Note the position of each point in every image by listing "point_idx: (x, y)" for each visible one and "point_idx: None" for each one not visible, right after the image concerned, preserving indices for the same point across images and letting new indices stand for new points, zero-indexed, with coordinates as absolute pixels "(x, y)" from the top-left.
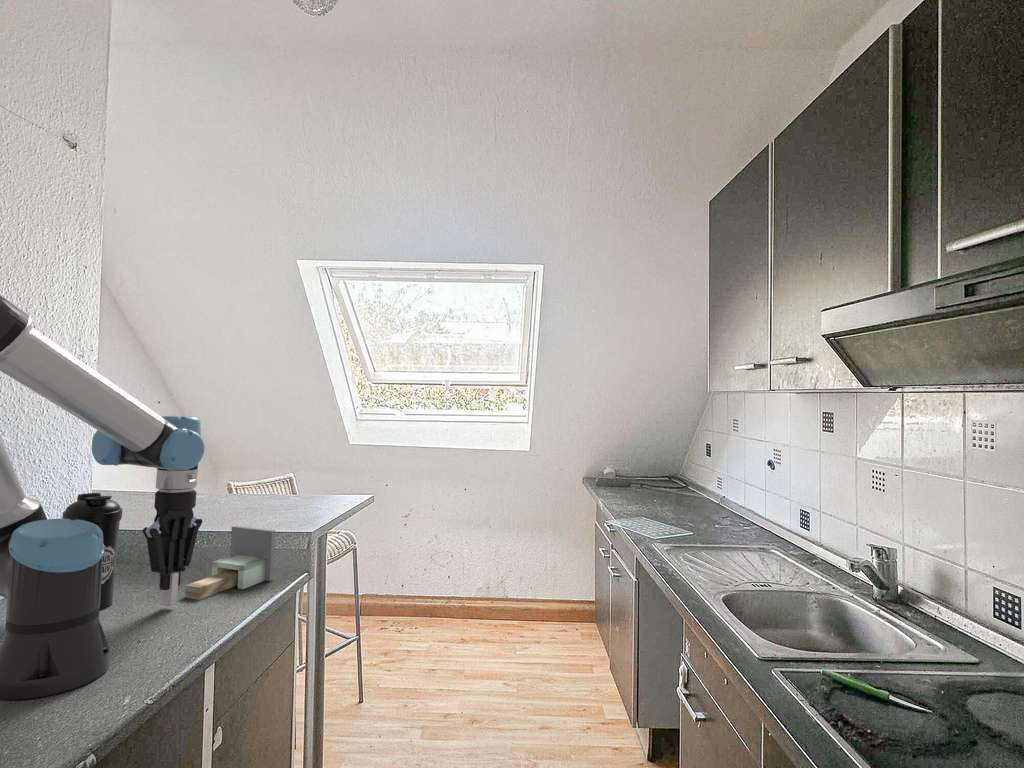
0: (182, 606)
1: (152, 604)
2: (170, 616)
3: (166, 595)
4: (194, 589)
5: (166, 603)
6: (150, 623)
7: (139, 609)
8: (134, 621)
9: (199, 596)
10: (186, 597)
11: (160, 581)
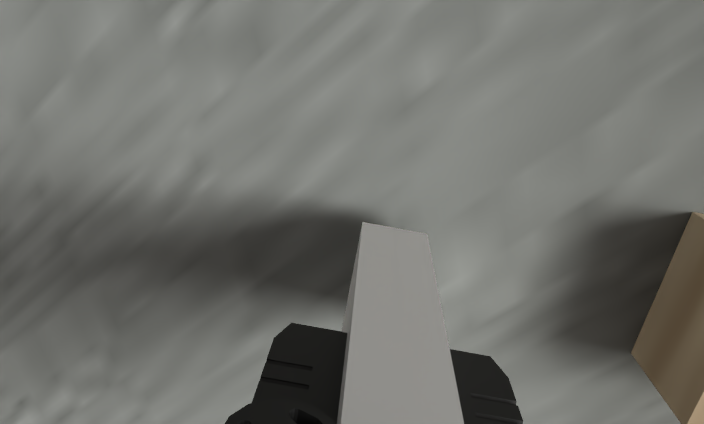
0: (461, 320)
1: (472, 53)
2: (255, 359)
3: (345, 325)
4: (695, 354)
5: (349, 290)
6: (108, 318)
7: (326, 33)
8: (94, 194)
9: (645, 368)
10: (688, 229)
11: (253, 399)
